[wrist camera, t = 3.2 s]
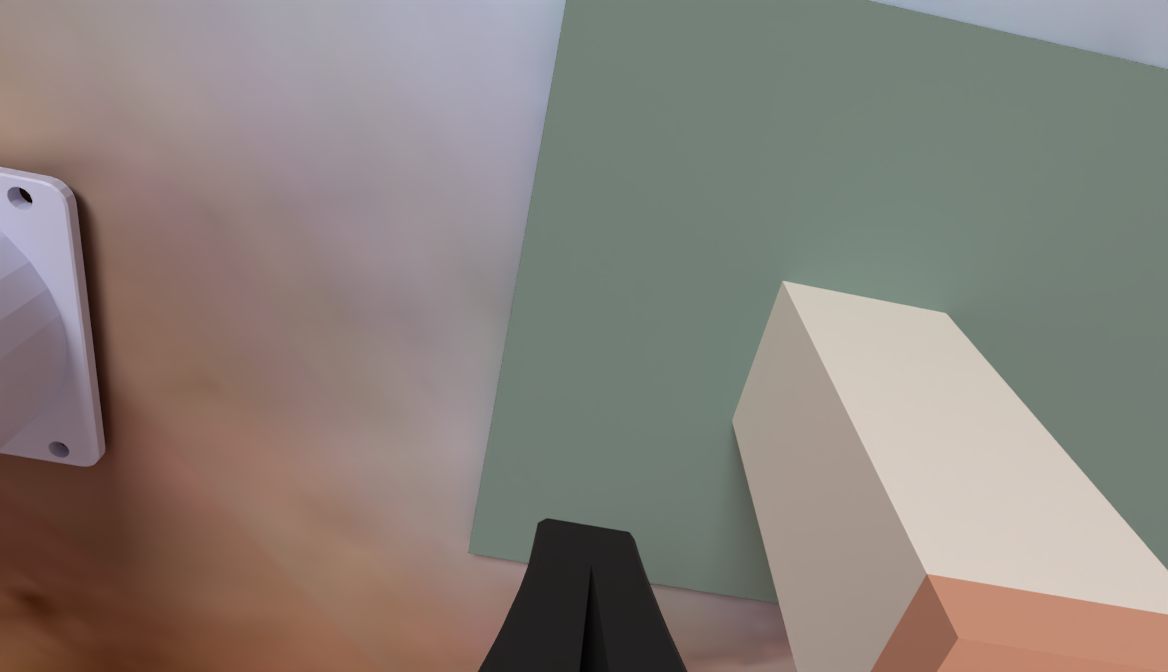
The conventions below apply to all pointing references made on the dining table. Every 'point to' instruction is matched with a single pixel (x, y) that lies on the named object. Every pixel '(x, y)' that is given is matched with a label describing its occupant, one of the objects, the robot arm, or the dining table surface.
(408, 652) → the dining table surface
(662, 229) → the green mat
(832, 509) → the cream block
